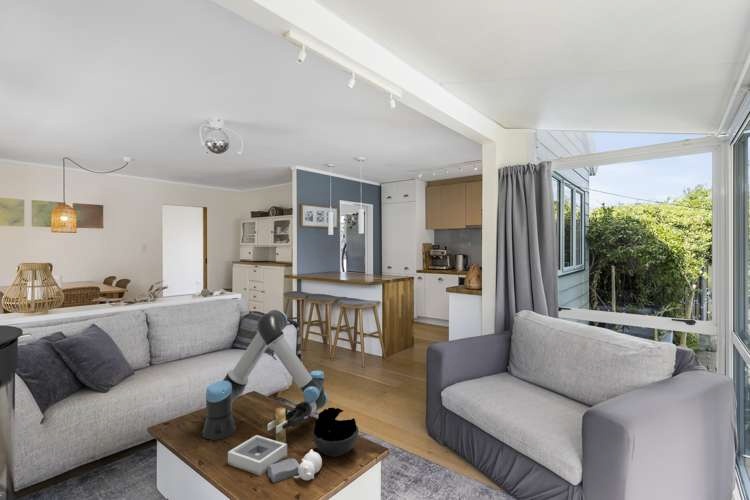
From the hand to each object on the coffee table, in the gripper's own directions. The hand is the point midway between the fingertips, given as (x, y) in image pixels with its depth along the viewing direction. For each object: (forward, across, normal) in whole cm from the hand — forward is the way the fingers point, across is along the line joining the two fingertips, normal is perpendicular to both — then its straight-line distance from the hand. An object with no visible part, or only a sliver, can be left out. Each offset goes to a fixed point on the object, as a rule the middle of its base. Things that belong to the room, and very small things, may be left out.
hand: (272, 428), depth 165 cm
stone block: (+11, -16, -10) cm, 22 cm away
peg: (-5, 0, -10) cm, 11 cm away
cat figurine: (+8, -26, -10) cm, 29 cm away
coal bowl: (-10, -27, -10) cm, 31 cm away
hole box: (+9, 0, -10) cm, 13 cm away
